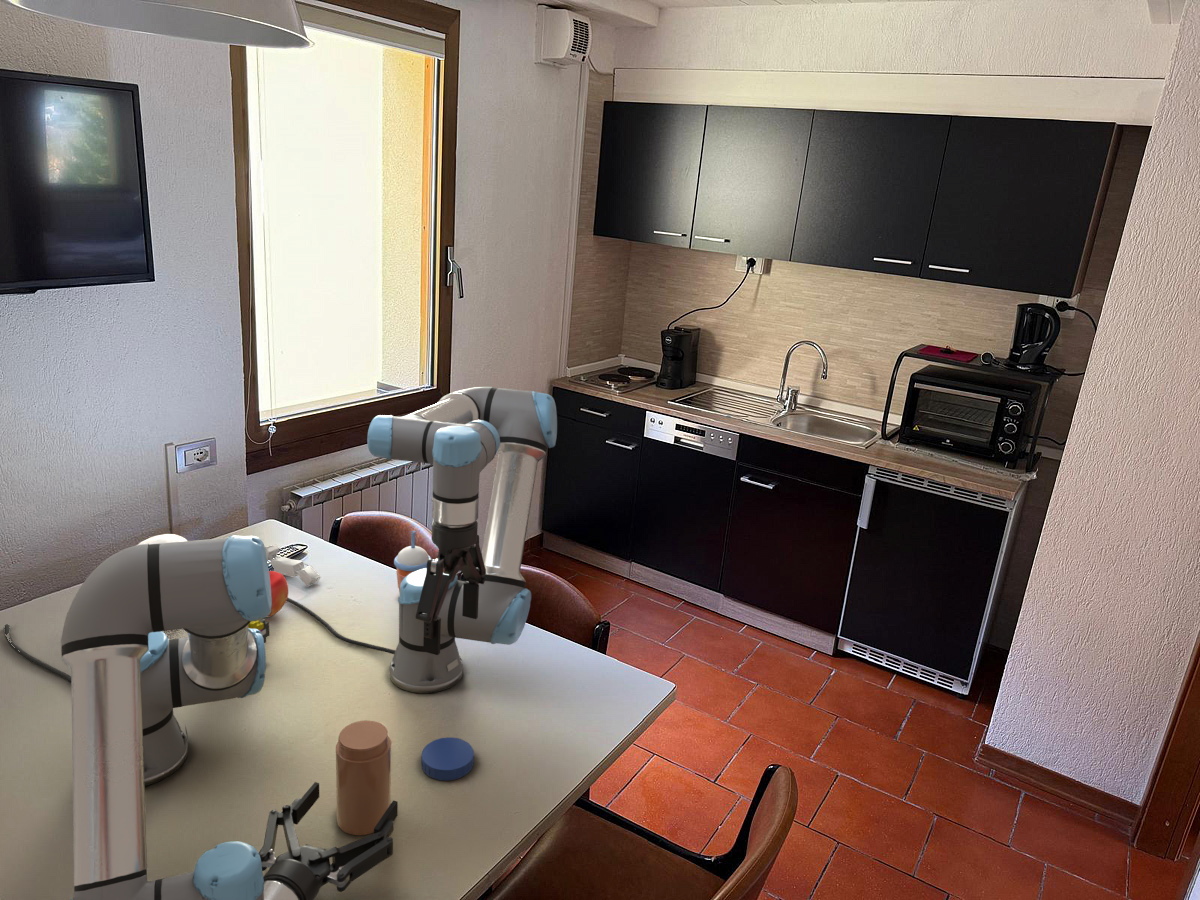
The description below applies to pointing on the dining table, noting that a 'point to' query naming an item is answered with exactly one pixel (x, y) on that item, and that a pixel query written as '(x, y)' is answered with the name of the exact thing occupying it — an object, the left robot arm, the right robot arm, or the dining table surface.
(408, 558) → the cup with straw
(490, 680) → the dining table surface
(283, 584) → the apple
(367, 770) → the jar
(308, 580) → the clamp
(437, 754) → the lid
